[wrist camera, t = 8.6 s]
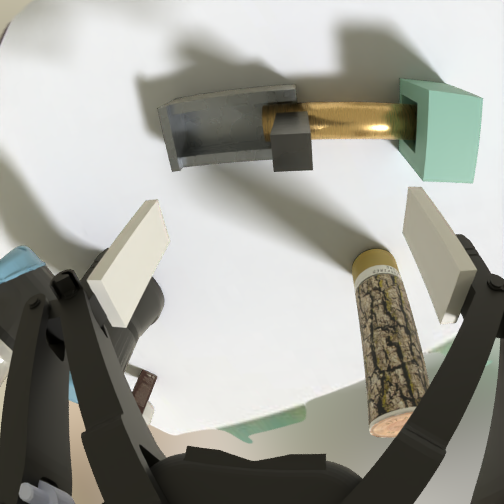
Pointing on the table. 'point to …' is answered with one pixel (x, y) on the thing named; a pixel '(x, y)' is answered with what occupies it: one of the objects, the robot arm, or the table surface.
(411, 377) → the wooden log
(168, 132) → the grey bracket
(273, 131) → the brass sliding bolt
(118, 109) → the table surface
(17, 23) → the table surface
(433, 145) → the socket block
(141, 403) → the box
